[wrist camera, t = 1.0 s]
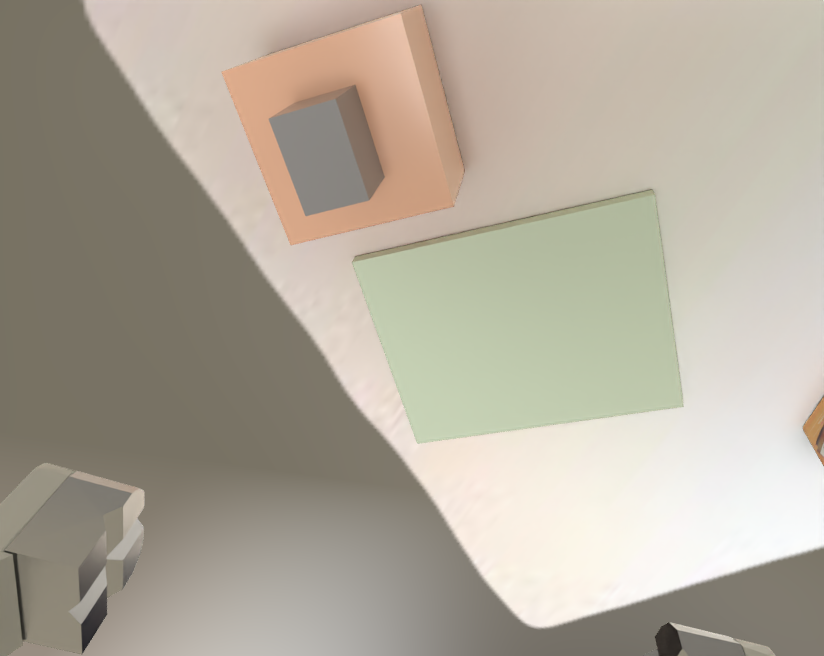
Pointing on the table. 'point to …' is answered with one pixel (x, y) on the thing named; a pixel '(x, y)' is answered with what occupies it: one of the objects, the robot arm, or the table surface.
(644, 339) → the sage board
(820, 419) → the small box
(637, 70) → the table surface
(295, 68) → the peach base with post
